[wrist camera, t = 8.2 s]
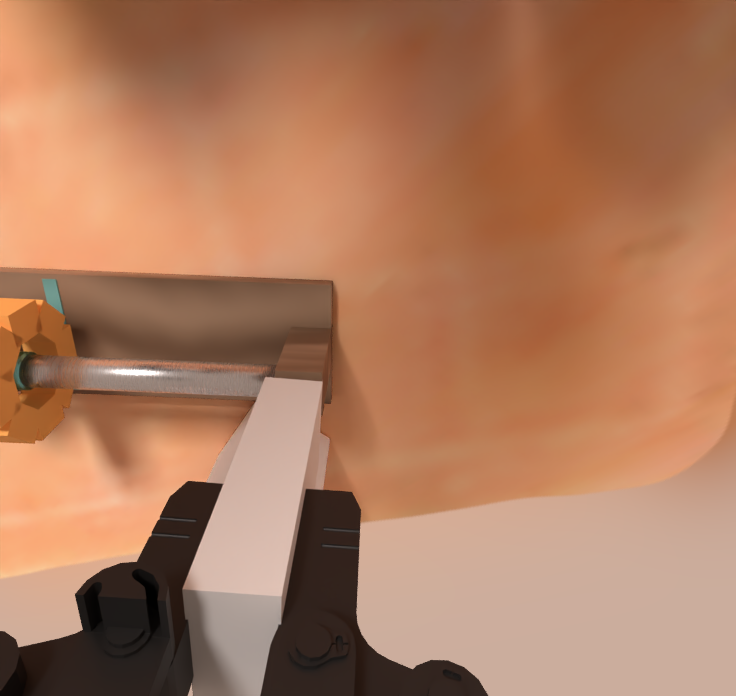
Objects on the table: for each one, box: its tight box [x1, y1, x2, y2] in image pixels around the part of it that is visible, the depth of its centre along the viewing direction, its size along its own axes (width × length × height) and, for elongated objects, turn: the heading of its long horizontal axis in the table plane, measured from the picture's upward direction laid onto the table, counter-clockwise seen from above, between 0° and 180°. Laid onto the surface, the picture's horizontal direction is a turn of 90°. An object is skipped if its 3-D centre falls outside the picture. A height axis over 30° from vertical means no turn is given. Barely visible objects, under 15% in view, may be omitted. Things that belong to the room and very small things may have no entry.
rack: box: [0, 267, 333, 415], centre depth 38 cm, size 10×27×8 cm, turn 88°
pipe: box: [13, 351, 277, 397], centre depth 36 cm, size 3×24×3 cm, turn 88°
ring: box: [0, 298, 77, 444], centre depth 36 cm, size 9×2×9 cm, turn 178°
